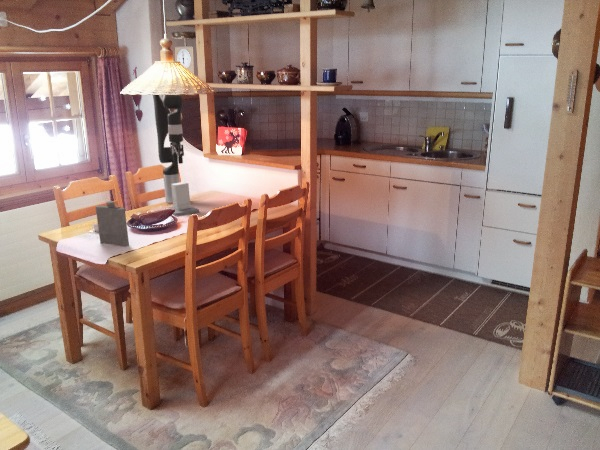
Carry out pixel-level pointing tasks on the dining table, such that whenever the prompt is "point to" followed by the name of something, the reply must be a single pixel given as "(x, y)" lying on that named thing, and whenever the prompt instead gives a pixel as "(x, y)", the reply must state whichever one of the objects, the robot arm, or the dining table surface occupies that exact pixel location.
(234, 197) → the dining table surface
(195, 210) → the slate board
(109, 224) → the hip flask
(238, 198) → the dining table surface
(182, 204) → the skincare box
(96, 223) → the teacup and saucer
